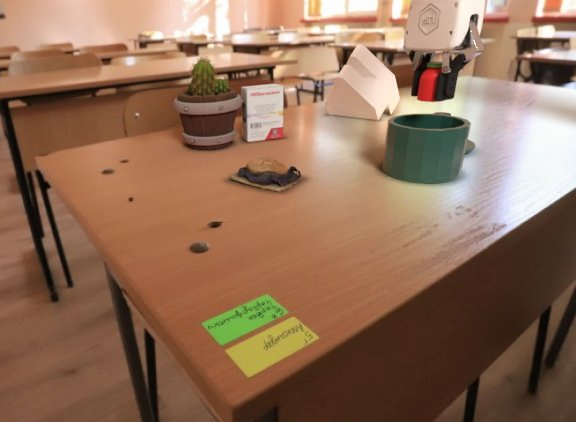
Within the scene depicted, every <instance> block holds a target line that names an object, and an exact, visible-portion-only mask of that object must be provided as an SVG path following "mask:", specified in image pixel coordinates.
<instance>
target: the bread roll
mask: <svg viewBox="0 0 576 422" xmlns="http://www.w3.org/2000/svg"><path fill="white" fill-rule="evenodd" d="M229 180H233V181H235V182H239V183H242V184H245V185H249V186H250V187H256V188H260V189H262V190H265V189H266V190H271V191H273V192H279V193H281V192H285V191H286V190H287V189H290V188H291V187H293V186H294V185H297V184H298V183H299V182H301V181H303V180H304V177H303V175H302V174H301V171H300V170H299V169H298V168H297V167H295V166H293V165H291V166H290V167H288V166H287V165H286V164H284V163H283V162H281V161H280V160H279V159H277V158H274V157H270V156H260V157H257V158H254V159H253V160H250V161H248V162H247V163H246V165H245V166H243V167H239V169H238V171H237V172H235V173H234V174H233V173H232V174H231V175H230V177H229Z"/></svg>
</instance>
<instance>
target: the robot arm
mask: <svg viewBox="0 0 576 422" xmlns="http://www.w3.org/2000/svg"><path fill="white" fill-rule="evenodd" d="M485 10H486V0H410V3H409V8H408V12H407V18H406V24H405V29H404V35H403V46H402V49H403V51H404V52H405V54H406V55H407V56H408V58H409V60H410V62H411V69H412V71H413V78H412V83H411V92H410V95H411V97H417V95H418V89H419V82H420V77H421V75H422V73H423V72H424V71H425V70H426V69H428V68H429V67H427V63H429V62H434V58H435V55H436V52H442V57H441V58H442V60H441V62H442V71H443V73H438V77H437V83H436V89H435V95H434V99H435V100H436V101H440V102H443V101H442V100H445V101H447V100H453V99H454V98H455V93H456V88H457V83H458V79H459V73H461V72H463V71H464V69H465V67H466V65H468V64H469V63H470V62H472V60H473V59H475V58H476V57H478V56H480V55H481V54H483V53H484V50H485V46H484V43H483V41H482V38H481V33H482V28H483V24H484V23H483V22H484V16H485ZM453 55H454V58H453Z"/></svg>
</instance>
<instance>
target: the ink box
mask: <svg viewBox="0 0 576 422" xmlns="http://www.w3.org/2000/svg"><path fill="white" fill-rule="evenodd" d="M240 89H241V90H240V96H241V100H243V103H242V104H241V130H242V131H241V132H242V133H241V134H242V135H241V137H242V139H244V141H245V142H248V143H252V142H260V141H261V142H262V141H268V140H277V139H283V138H284V106H285V105H284V101H285V100H284V99H285V98H284V97H285V96H284V95H285V93H284V92H285V86H284V85H282V84H279V83H268V84H256V85H247V86H246V85H245V86H241V87H240Z"/></svg>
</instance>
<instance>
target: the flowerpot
mask: <svg viewBox="0 0 576 422" xmlns="http://www.w3.org/2000/svg"><path fill="white" fill-rule="evenodd" d="M213 61H214V60H211V57H210V55H205V57H204V56H200V57H199V58H196V61H195V63H191V65H192V66H191V67H189V70H188V71H187V72H188V73H189V76H190V79H187V82H188V85H187V88H186V89H185V90H183V91H181V92H178V93H177V97H176V98H174V100H173V103H172V106H173V109H174V111H175V112H176V113H178V114H179V119H180V123H181V124H182V128H183V131H182V133H181V135H182V137H183V140H184V142H185V143H186V144H187V146H188V147H189V148H191V149H194V150H204V151H205V150H209V151H210V150H220V149H224V148H226V147H229V146H231V145H232V143H233V140H234V139H235V138H236V136H237V135H238V134H237V129H236V128H235V123H236V117H237V112H238V111H237V110H238V109H241V108H242V103H243V100H241V94H238V93H237V90H236V89H235V88H233V87H230V84H229V82H228V78H222V77H221V76H222V74H220V75H219V76H216V74H218V71H217V70H218V68H217V66H215V63H214V62H213Z"/></svg>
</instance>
